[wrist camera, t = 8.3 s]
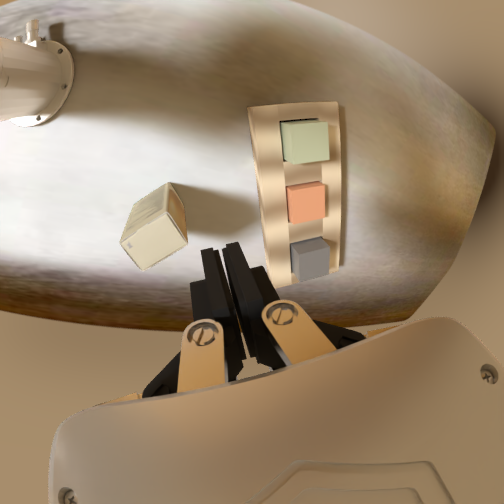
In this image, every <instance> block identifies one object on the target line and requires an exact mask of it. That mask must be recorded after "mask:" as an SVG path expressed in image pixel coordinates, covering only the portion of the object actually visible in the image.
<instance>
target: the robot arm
mask: <svg viewBox="0 0 504 504" xmlns="http://www.w3.org/2000/svg"><path fill="white" fill-rule="evenodd" d="M38 24H39V20H37V19H35V20H31V21H29V22H28V23H27V24H26V42H25V43H22V36H17V37H15V38H14V40H10V39H6V38H2V37H0V121H5V120H10V121H11V122H13V123H14V124H16V125H18V126H22V127H31V126H35V125H39V124H41V123H43V122H45V121H47V120H48V119H50V118H51V117H52V116H53V115H54V114H55V113H56V112H57V111H58V110H59V109H60V107H61V106H62V105H63V103H64V102H65V100H66V98H67V96H68V94H69V92H70V90H71V86H72V83H73V78H74V62H73V58H72V55H71V53H70V51H69V50H68V49H67V48H66V47H65V46H64V45H62V44H61V43H58V42H56V41H51V40H47V41H41V37H38V30H39V28H38ZM62 51H63V52H62ZM61 52H62V53H61ZM66 85H67V87H66V88H65V86H66ZM40 117H41V119H40ZM222 252H223V257H224V262H225V266H226V271H227V276H228V280H229V285H230V289H229V286H228V282H227V279H226V275H225V272H224V268H223V265H222V261H221V258H220V254H219V251H218V250H214V251H213V248H208V249H204V250H201V256H202V262H203V267H204V273H205V279H204V280H200V281H196V282H191V283H190V290H191V299H192V309H193V317H194V322H193V323H191V324H190V325H189V326H188V327H187V328H186V329H185V331H184V333H183V337H182V346H181V351H180V352H179V353H178V354H177V355H176V356H175V357H174V358H173V359H172V360H171V361H170V362H169V364H168V365H167V366H166V367H165V368H164V369H163V370H162V371H161V372H160V373H159V374H158V375H157V376H156V377H155V378H154V379H153V380H152V381H151V382H150V384H148V385H147V387H146V388H145V389H144V391H143V393H140V394H138V393H137V392H135V393H132V394H129V395H126V396H123V397H120V398H117V399H114V400H111V401H108V402H104V403H101V404H98V405H95V406H93V407H91V408H88V409H85V410H82V411H80V412H78V413H76V414H74V415H72V416H70V417H69V418H67V419H66V420H65V421H64V422H62V423H61V424H60V426H59V427H58V429H57V431H56V433H55V436H54V439H53V443H52V448H51V454H50V462H49V478H48V494H49V504H504V367H503V366H502V365H501V363H500V362H499V361H498V360H497V358H496V357H495V356H494V355H493V354H492V352H491V351H490V350H489V349H488V348H487V347H486V346H485V345H484V343H482V341H481V340H480V339H479V338H478V337H477V336H476V335H475V334H474V333H473V332H472V331H470V330H469V329H468V328H467V327H466V326H464V325H463V324H462V323H460V322H459V321H457V320H455V319H452V318H448V317H431V318H424V319H419V320H415V321H412V322H409V323H405V324H401V325H397V326H392V327H387V328H382V329H376V330H371V331H367V333H366V334H365V335H362V334H361V333H359V332H356V331H353V330H349V329H345V328H342V327H338V326H334V325H331V324H327V323H323V322H320V321H316V320H312V319H311V318H310V317H309V316H308V315H307V314H306V313H305V311H304V310H303V309H302V308H301V307H300V306H299V305H298V304H297V303H295V302H293V301H289V300H280V298H279V296H278V294H277V293H276V291H275V289H274V287H273V285H272V283H271V281H270V279H269V277H268V275H267V273H266V271H265V269H264V267H263V266H258V267H254V268H249V266H248V263H247V261H246V259H245V256H244V254H243V252H242V249H241V247H240V245H239V243H238V242H234V243H230V244H226V248H223V249H222ZM230 290H231V293H230ZM231 294H232V296H231ZM233 302H234V303H233ZM234 306H235V307H234ZM235 309H236V311H235ZM236 312H237V315H236ZM237 316H238V319H239V322H240V325H241V329H242V332H243V335H244V338H245V341H246V345H247V348H248V351H249V354H250V357H256V360H257V363H258V364H259V363H261V364H264V365H267V366H269V369H270V372H267V373H263V374H260V375H256V376H252V377H248V378H244V379H240V380H238V378H237V375H238V374H239V372H240V371H241V370H242V368H243V363H242V360H244V359H246V354H245V350H244V346H243V342H242V337H241V333H240V328H239V324H238V319H237Z"/></svg>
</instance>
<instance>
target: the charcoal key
mask: <svg viewBox="0 0 504 504" xmlns="http://www.w3.org/2000/svg"><path fill="white" fill-rule="evenodd" d="M290 259H291V270H292V271H293V273H294V274H295V276H296V277H297V279H298V280H299V282H303V281H306V280H310V279H313V278H317V277H321V276H324V275H328V274H329V261H330V246H329V245H328V244H327V243H326V242H325V241H324V240H323V239H322V238H321V237H320V236H319V237H315V238H311V239H306V240H302V241H298V242H294V243H290Z"/></svg>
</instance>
